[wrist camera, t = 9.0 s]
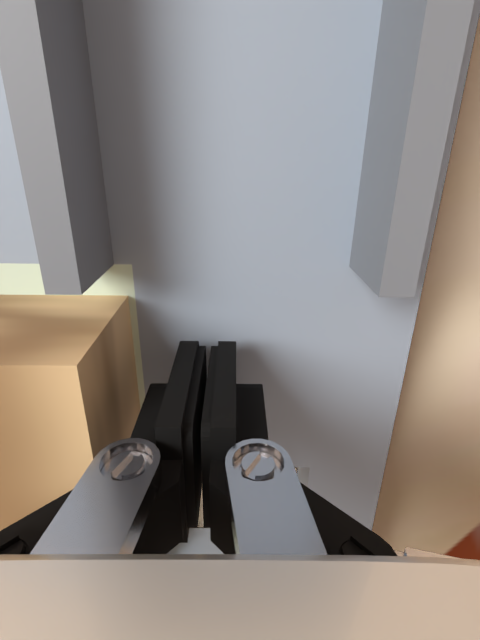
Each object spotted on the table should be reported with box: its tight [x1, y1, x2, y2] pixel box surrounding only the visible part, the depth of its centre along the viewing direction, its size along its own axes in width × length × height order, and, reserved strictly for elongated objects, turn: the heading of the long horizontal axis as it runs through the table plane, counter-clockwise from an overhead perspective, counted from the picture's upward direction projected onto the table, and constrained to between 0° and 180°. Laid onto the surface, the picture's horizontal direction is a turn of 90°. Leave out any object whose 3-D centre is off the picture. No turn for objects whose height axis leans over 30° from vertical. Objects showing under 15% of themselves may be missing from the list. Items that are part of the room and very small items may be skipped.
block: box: [0, 295, 140, 531], centre depth 10 cm, size 5×5×4 cm
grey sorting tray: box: [0, 0, 480, 554], centre depth 11 cm, size 15×25×4 cm, turn 179°
